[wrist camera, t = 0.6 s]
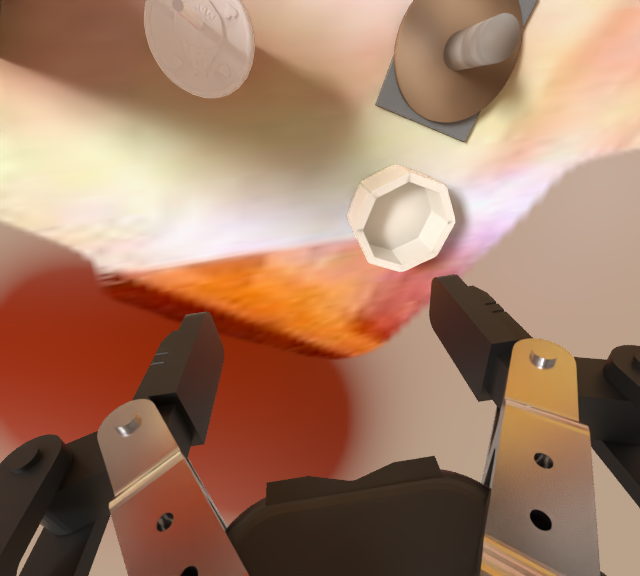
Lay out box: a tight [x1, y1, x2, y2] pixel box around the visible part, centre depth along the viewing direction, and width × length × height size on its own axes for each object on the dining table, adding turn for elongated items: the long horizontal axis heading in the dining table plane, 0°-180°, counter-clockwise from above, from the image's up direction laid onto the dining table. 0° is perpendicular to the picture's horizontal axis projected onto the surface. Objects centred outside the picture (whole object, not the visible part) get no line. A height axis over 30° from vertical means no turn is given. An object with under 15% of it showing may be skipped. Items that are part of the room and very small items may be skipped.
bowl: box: [347, 164, 456, 272], centre depth 34 cm, size 10×10×5 cm
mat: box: [375, 0, 537, 142], centre depth 28 cm, size 12×10×1 cm
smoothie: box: [144, 0, 255, 98], centre depth 21 cm, size 6×6×14 cm
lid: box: [394, 0, 522, 122], centre depth 25 cm, size 11×11×7 cm
